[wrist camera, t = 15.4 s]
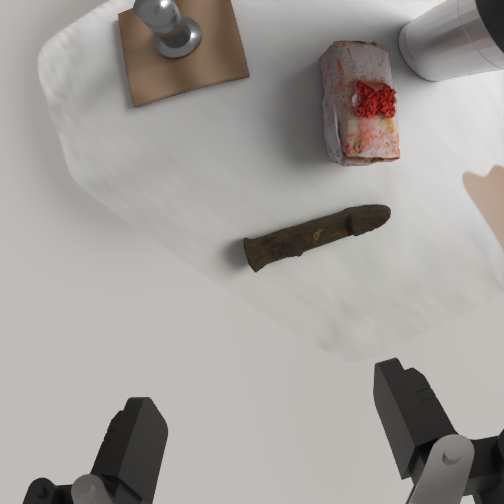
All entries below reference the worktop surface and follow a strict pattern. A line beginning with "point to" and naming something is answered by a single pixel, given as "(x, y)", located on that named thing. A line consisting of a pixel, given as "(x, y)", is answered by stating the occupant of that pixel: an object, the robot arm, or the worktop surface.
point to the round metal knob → (169, 27)
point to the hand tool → (314, 234)
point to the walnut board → (188, 68)
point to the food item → (359, 104)
